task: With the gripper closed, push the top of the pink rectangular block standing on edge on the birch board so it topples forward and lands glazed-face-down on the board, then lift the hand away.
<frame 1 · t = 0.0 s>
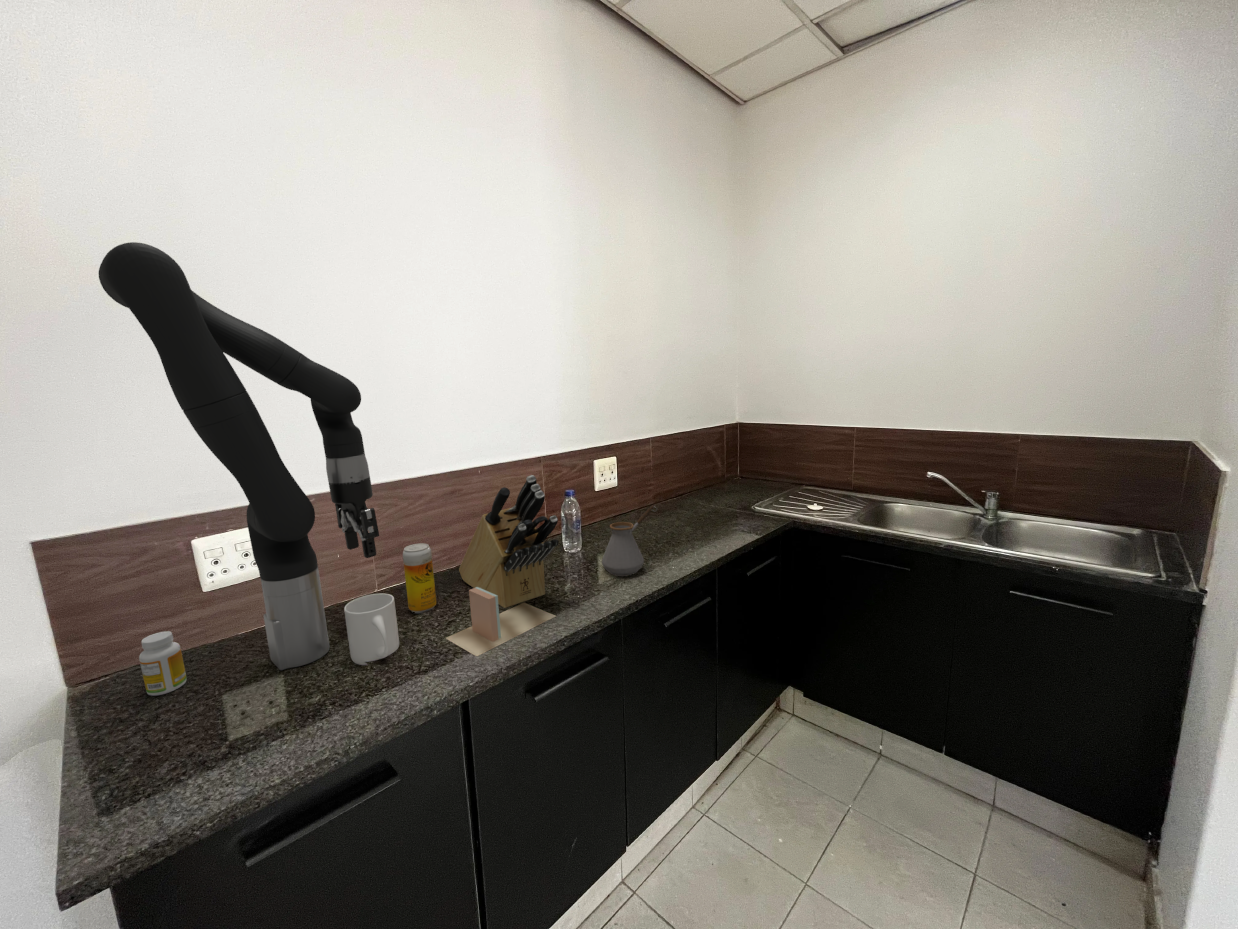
hand: (361, 552, 104), 17 cm above the counter, tool pointing down, fingers open, 8 cm apart
mug: (378, 658, 96), on the counter
beer can: (423, 609, 116), on the counter
pink rectangular block: (486, 634, 101), point 1 cm above the counter, touching board
coffee pot: (634, 565, 139), on the counter
supplement bottle: (167, 688, 89), on the counter
knife block: (508, 595, 122), on the counter
board: (503, 631, 104), on the counter
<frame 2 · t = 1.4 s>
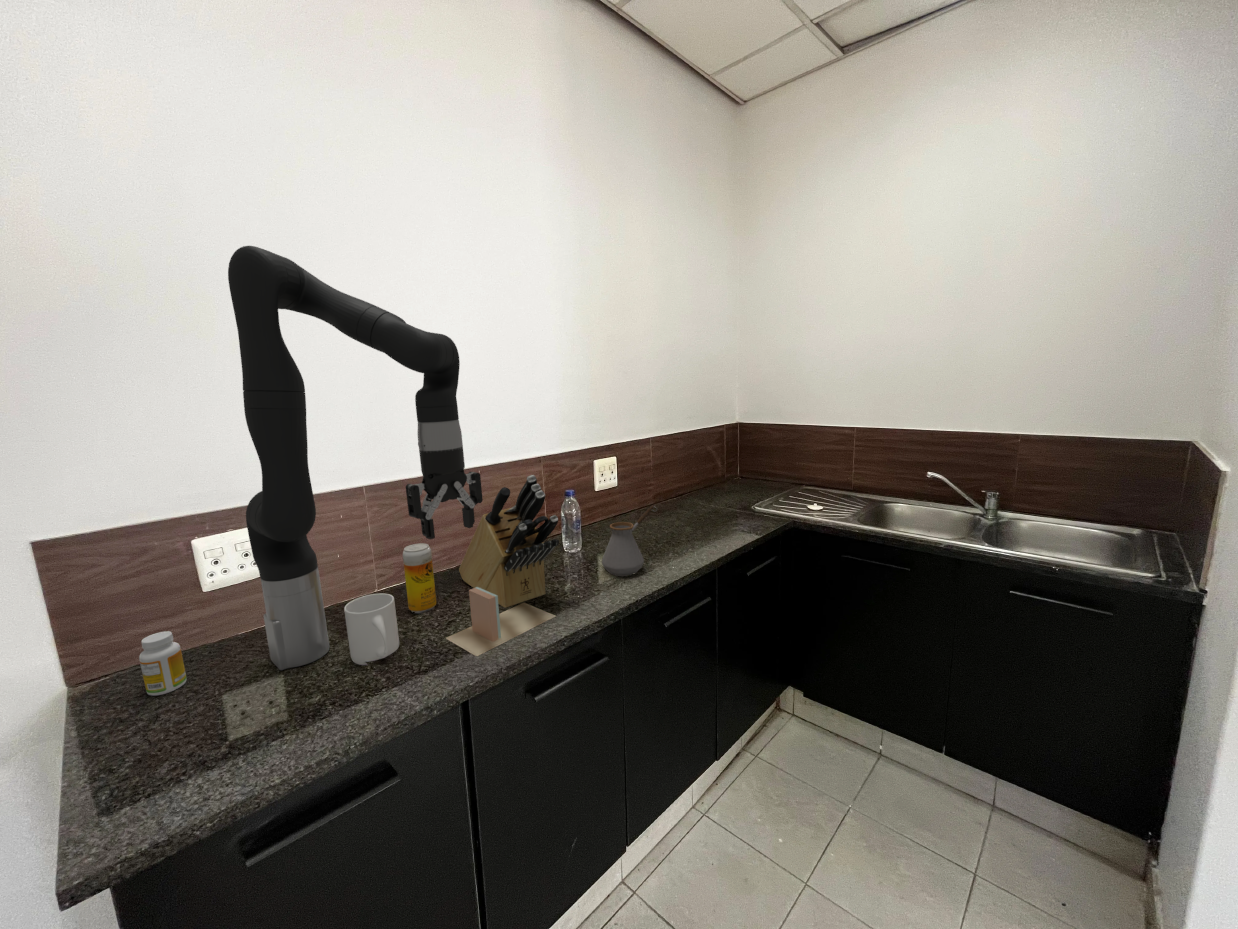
hand: (450, 532, 93), 24 cm above the counter, tool pointing down, fingers open, 7 cm apart
nothing on the counter moved.
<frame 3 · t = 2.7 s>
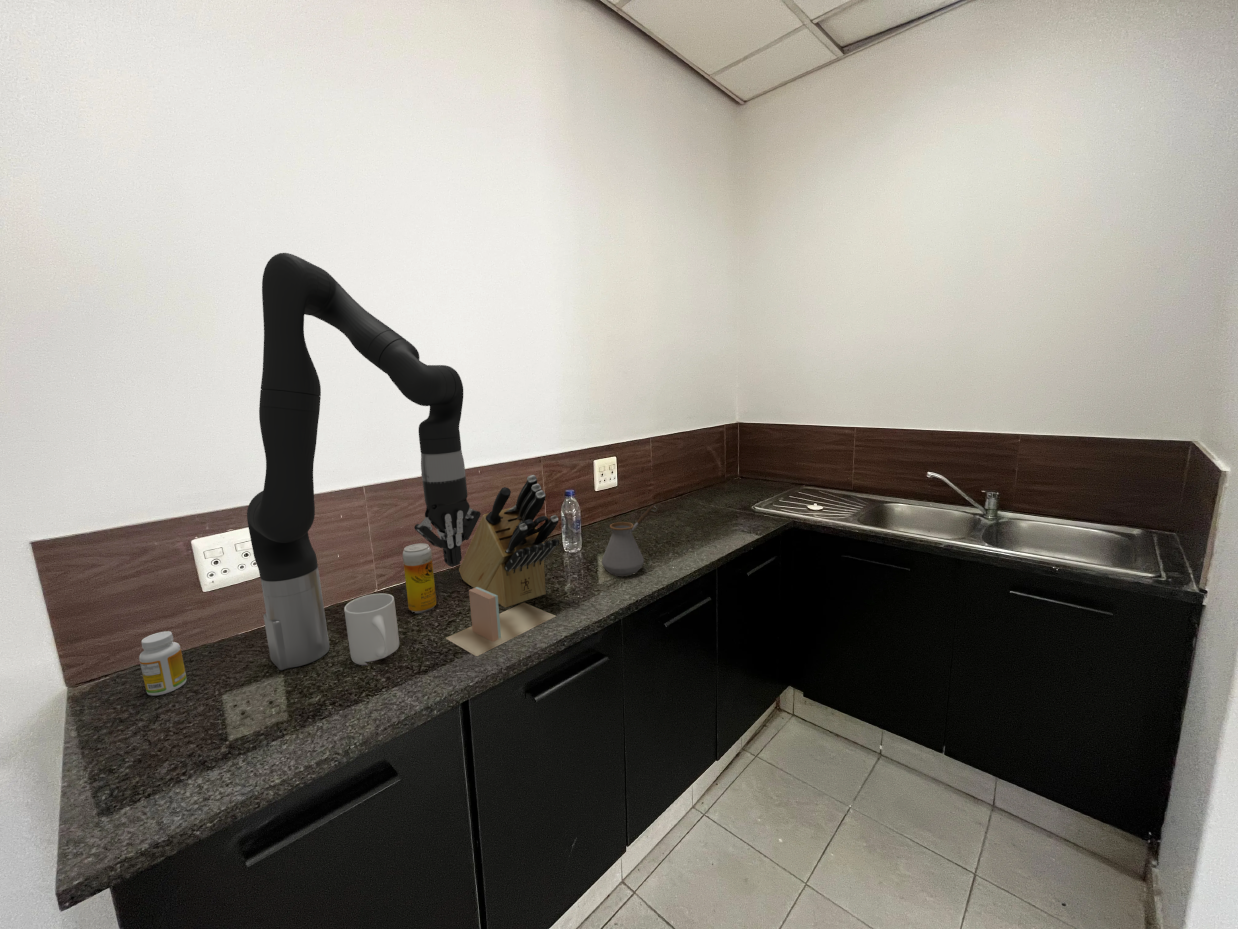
hand: (453, 564, 94), 18 cm above the counter, tool pointing down, fingers closed
nothing on the counter moved.
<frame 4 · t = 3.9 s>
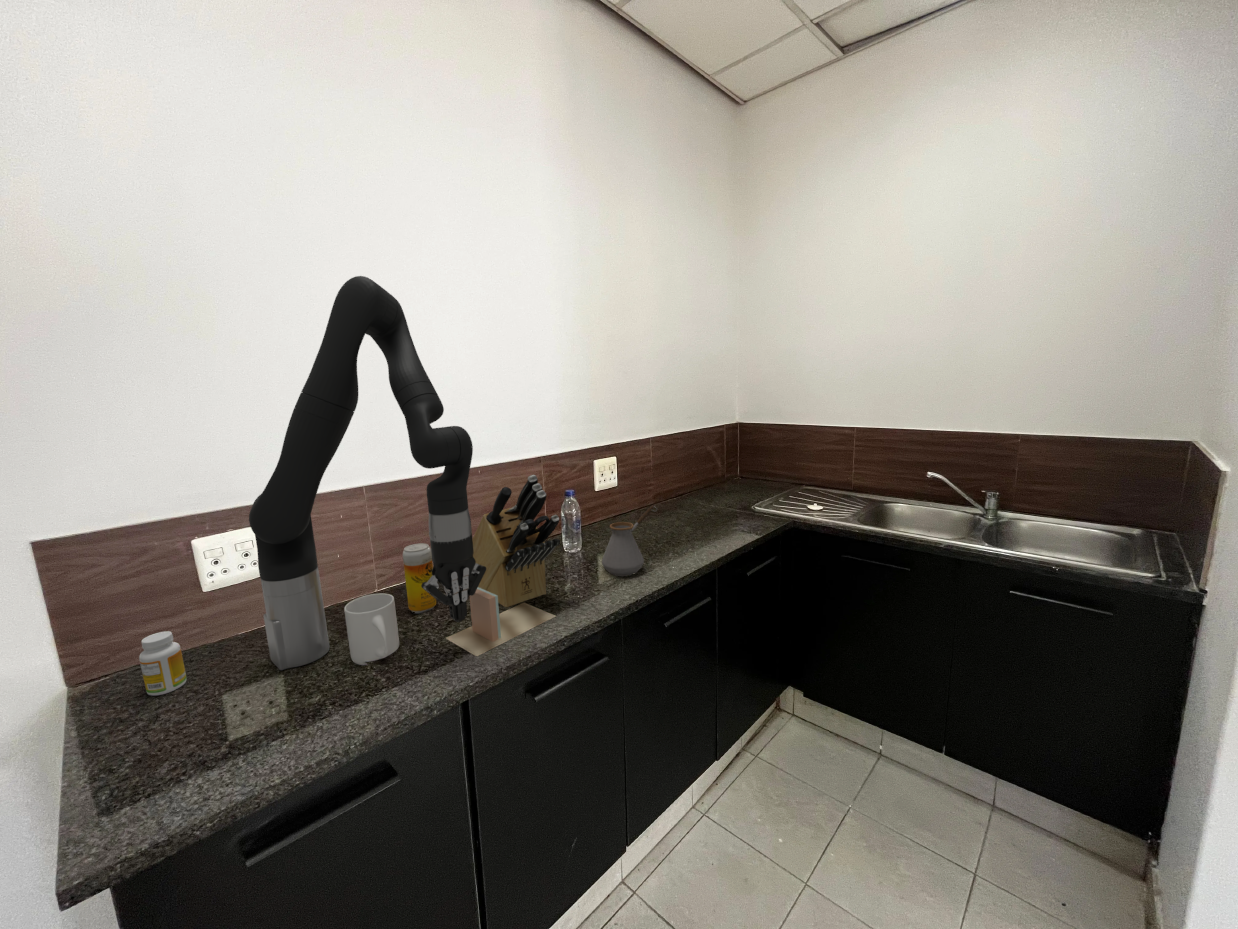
hand: (459, 619, 96), 7 cm above the counter, tool pointing down, fingers closed
nothing on the counter moved.
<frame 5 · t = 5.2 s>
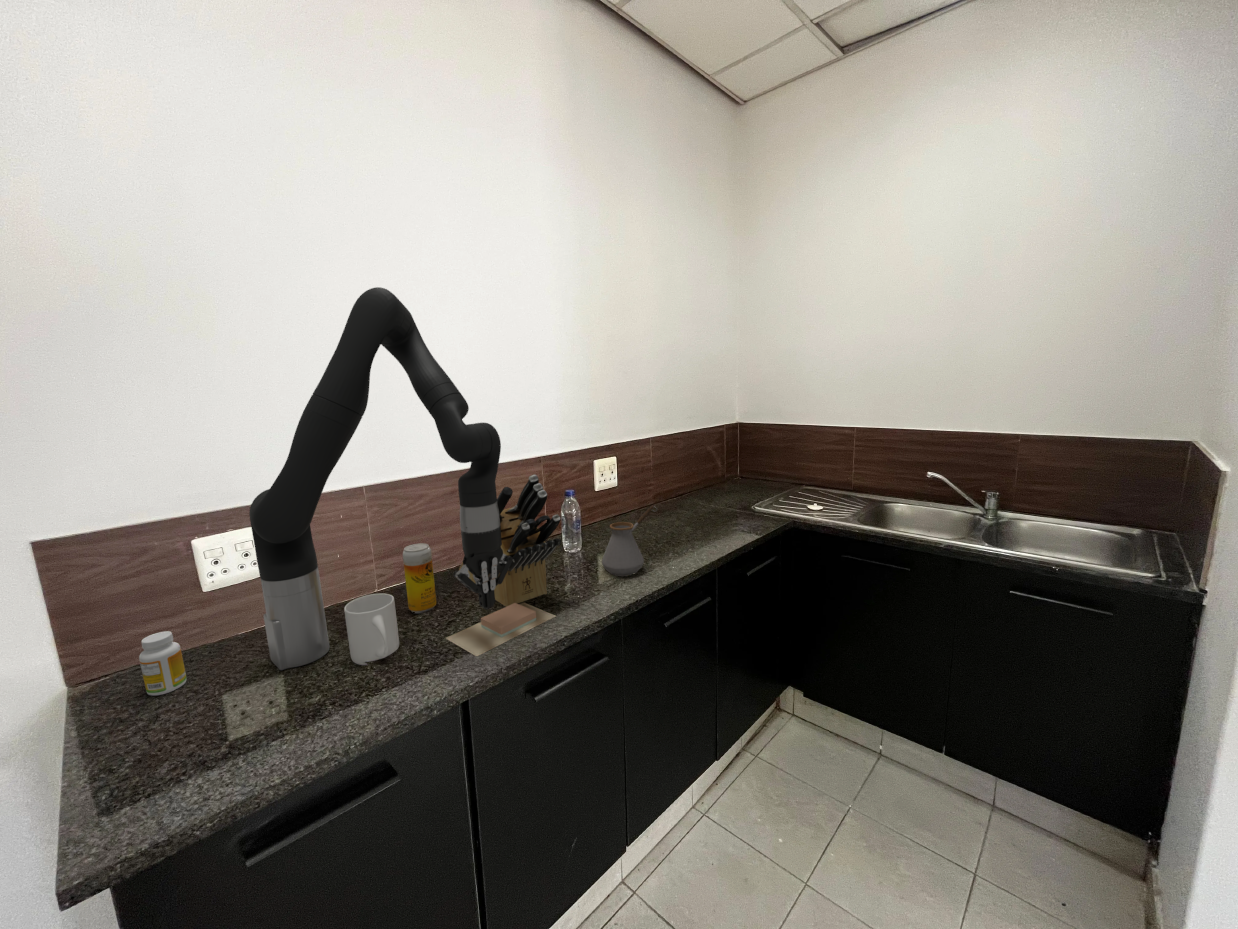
hand: (487, 607, 101), 7 cm above the counter, tool pointing down, fingers closed
pink rectangular block: (490, 627, 102), point 2 cm above the counter, tilted 90°, touching board
everything else where it was.
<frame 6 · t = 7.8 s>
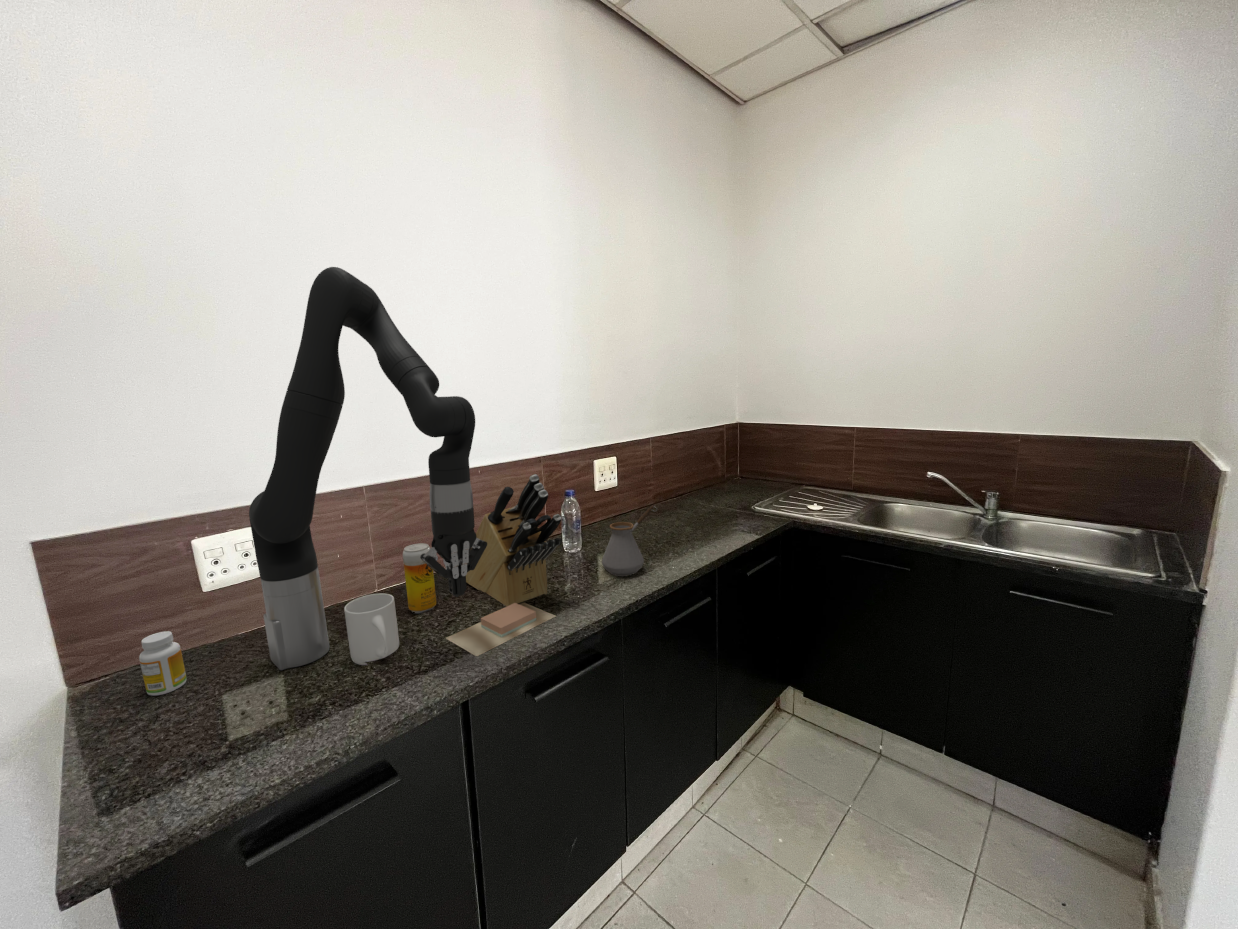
hand: (458, 594, 94), 12 cm above the counter, tool pointing down, fingers closed
nothing on the counter moved.
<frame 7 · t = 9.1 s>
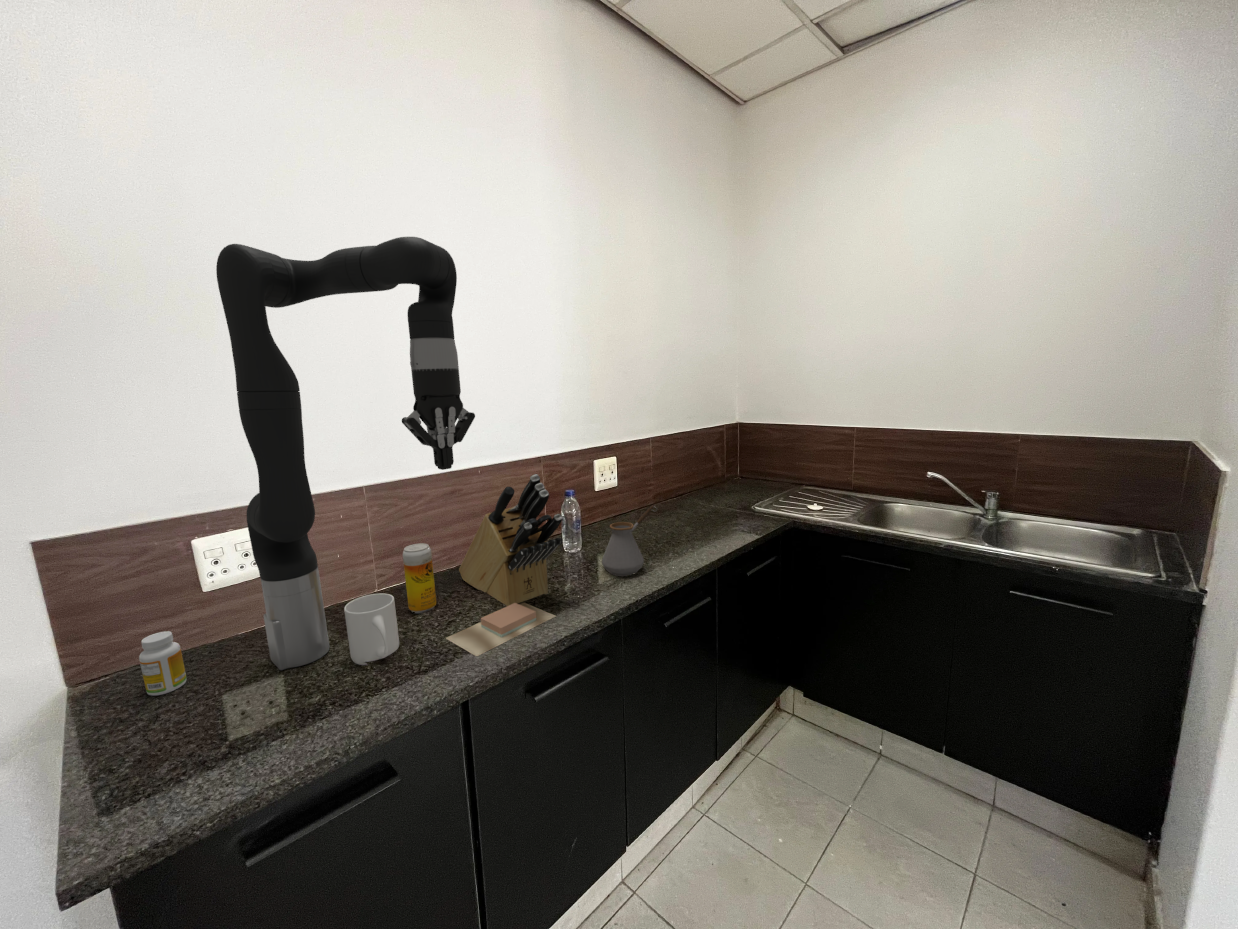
hand: (444, 468, 87), 37 cm above the counter, tool pointing down, fingers closed
nothing on the counter moved.
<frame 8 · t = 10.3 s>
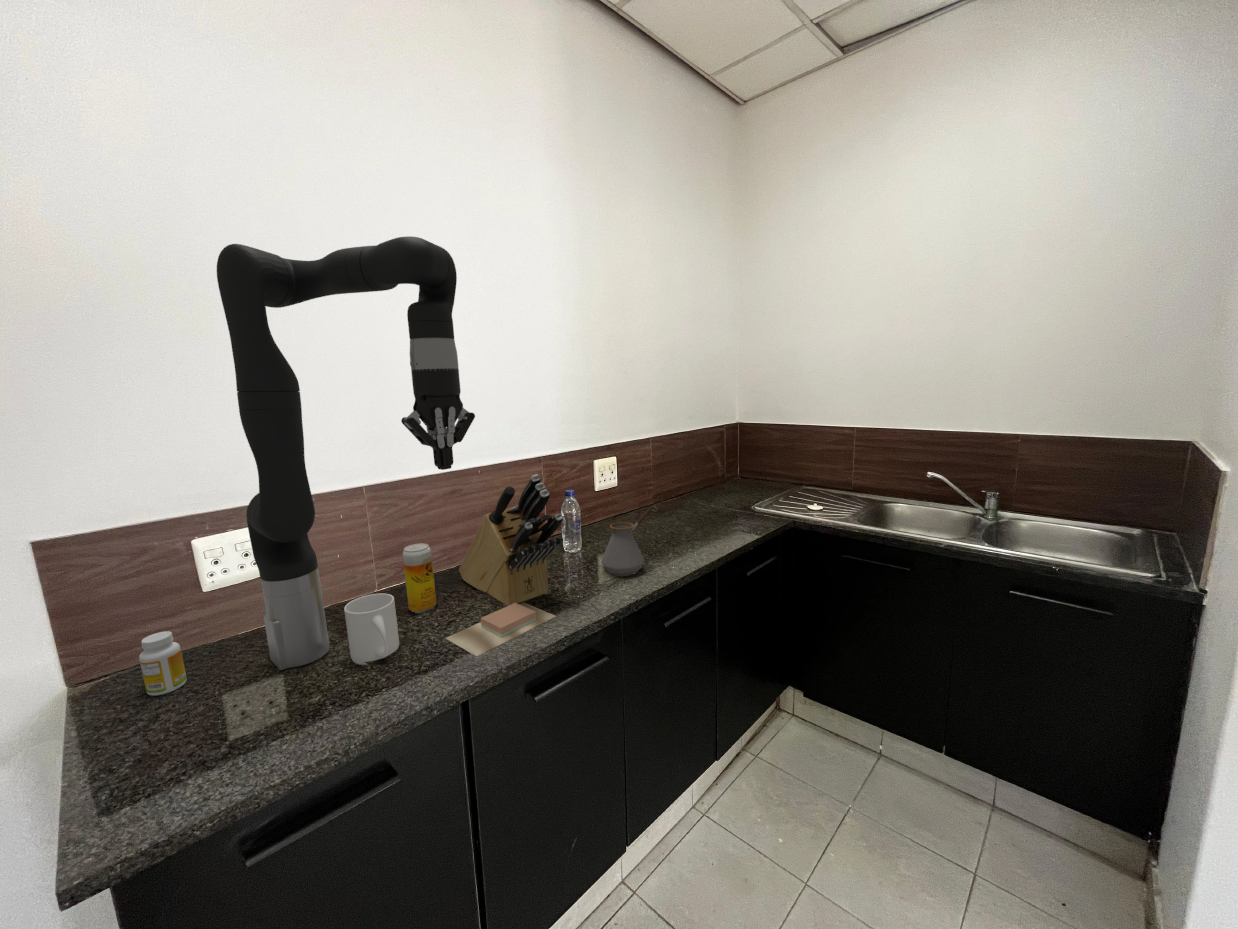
hand: (444, 468, 86), 37 cm above the counter, tool pointing down, fingers closed
nothing on the counter moved.
at the end: pink rectangular block tilted 90°; pink rectangular block inside the target area on the board (3.9 cm from its centre), point 2.0 cm above the board's base; the gripper is holding nothing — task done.
